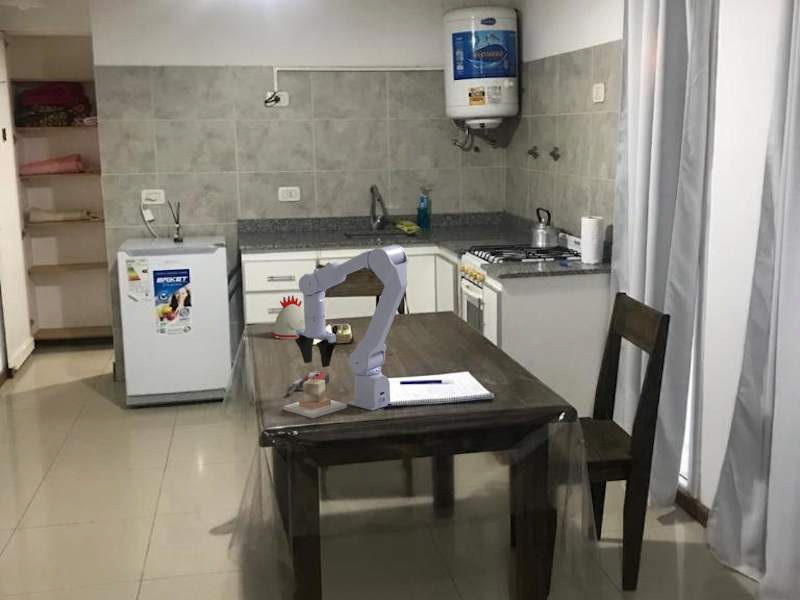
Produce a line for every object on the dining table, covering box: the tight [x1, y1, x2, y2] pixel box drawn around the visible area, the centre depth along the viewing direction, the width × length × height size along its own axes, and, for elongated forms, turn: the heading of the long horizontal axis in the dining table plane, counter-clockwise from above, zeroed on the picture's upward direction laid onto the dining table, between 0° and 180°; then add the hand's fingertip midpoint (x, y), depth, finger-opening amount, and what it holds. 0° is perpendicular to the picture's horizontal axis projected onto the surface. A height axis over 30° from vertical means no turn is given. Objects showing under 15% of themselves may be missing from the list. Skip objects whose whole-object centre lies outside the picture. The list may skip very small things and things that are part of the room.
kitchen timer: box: [273, 294, 305, 337], centre depth 342 cm, size 14×14×15 cm
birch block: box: [302, 379, 327, 402], centre depth 248 cm, size 4×4×5 cm
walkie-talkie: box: [286, 370, 330, 396], centre depth 269 cm, size 9×4×20 cm
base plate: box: [282, 397, 348, 419], centre depth 248 cm, size 12×12×2 cm
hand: (316, 364), depth 258 cm, fingers open, 7 cm apart
